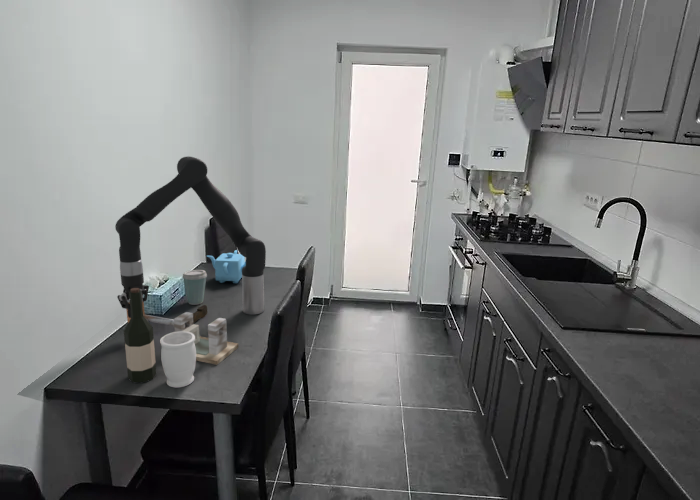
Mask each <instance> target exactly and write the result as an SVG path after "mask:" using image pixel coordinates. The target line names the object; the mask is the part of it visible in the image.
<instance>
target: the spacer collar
mask: <svg viewBox="0 0 700 500" xmlns="http://www.w3.org/2000/svg"><path fill="white" fill-rule="evenodd" d="M183 331H186V332H191V333H193V334H194V335H195V341H194V344H196V343H198V342H199V341H200V337H199V336H200V325H199V324H194V323H193V325H191V326H189V327H188V328H186V329H185V330H183Z"/></svg>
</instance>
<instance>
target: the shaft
mask: <svg viewBox="0 0 700 500" xmlns="http://www.w3.org/2000/svg"><path fill="white" fill-rule="evenodd" d="M144 302H145V301H144ZM144 302H143V301H142V307H143V316H144V317H145V319H146V320H147V321H148V322H149V323H156V324H161V325H167V326H172V327H174V318H173V319H172V318H166V317H161V316H155V315H150V314H146V313H145V303H144ZM129 304H130V303H129ZM125 310H126V319H127V324H128V323H129V321H130V319H131V318H129V317H128V311H127V309H125ZM186 325H187V323H185V327H186Z"/></svg>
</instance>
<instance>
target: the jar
mask: <svg viewBox="0 0 700 500" xmlns="http://www.w3.org/2000/svg"><path fill="white" fill-rule="evenodd" d="M194 341H195V335H194V334H193V333H191V332H186V331H179V332H175V331H173V332H170V333H169V332H168V333H167V334H165V335H163V336H162V337H160V340H159V343H160V346H161V351H160V352H161V353H160V358H161V365H162V369H163V372H164V374H165V378H166V384H167V386H169V387H171V388H184V387H187V386H188V385H190V384H191V383H193V382H194V380H195V376H194V372H195V371H196V370H195V369H196V363H197V361H196V348H195V344H194Z"/></svg>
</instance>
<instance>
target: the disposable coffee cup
mask: <svg viewBox="0 0 700 500" xmlns="http://www.w3.org/2000/svg"><path fill="white" fill-rule="evenodd" d="M207 277H208V274H207V272H206V270H204V269H194V270H193V269H192V270H191V269H190V270H188V271H185V272H183V273H182V278H183V283H184V289H185V293H186V299H187V303H188V304H189V305H193V306H197V305H202V303H203V302H204V297H205V291H206V284H207V283H206V281H207Z"/></svg>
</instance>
